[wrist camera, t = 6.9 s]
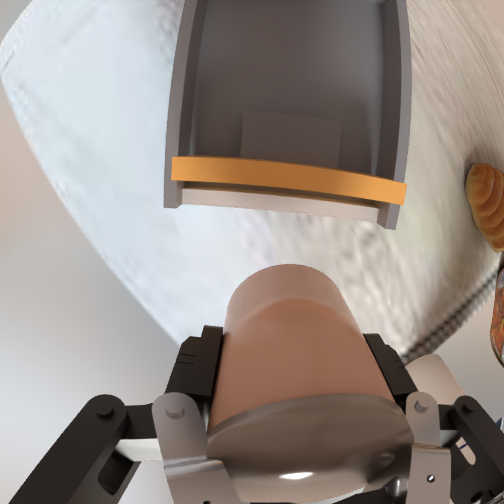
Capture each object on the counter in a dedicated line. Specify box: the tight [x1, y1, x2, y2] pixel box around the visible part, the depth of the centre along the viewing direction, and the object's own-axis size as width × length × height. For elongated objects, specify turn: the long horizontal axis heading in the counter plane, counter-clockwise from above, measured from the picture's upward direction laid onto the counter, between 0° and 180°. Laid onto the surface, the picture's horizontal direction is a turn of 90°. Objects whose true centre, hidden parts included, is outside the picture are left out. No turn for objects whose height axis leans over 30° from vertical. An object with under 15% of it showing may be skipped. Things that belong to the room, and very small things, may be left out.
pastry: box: [465, 164, 504, 253], centre depth 17 cm, size 9×7×4 cm
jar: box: [206, 264, 414, 504], centre depth 9 cm, size 6×6×8 cm
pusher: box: [171, 110, 407, 205], centre depth 15 cm, size 4×12×5 cm, turn 85°
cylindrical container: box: [405, 354, 476, 504], centre depth 14 cm, size 7×7×25 cm
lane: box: [164, 0, 412, 230], centre depth 14 cm, size 19×15×5 cm
